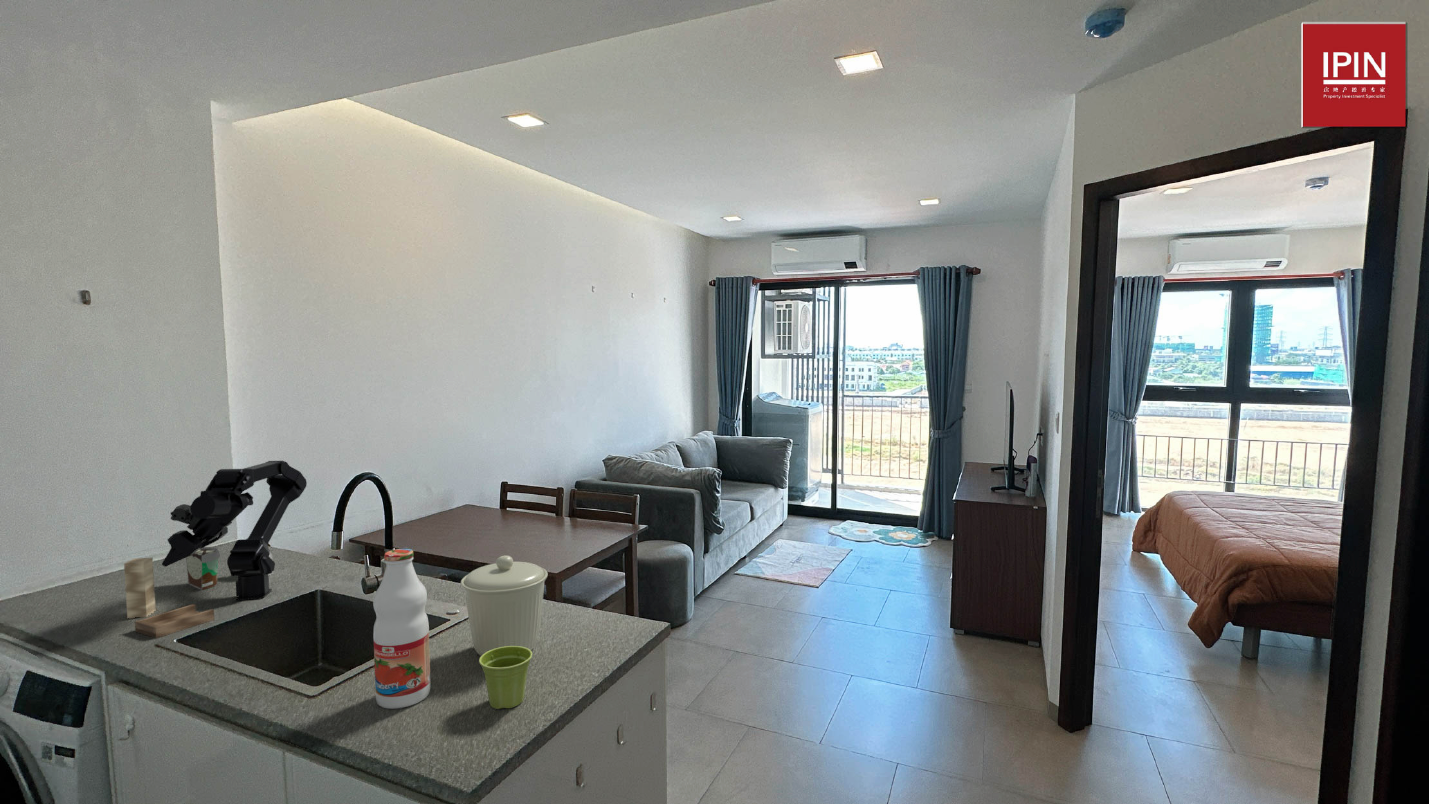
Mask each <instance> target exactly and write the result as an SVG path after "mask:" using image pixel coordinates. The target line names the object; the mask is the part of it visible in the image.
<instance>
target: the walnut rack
mask: <svg viewBox="0 0 1429 804" xmlns="http://www.w3.org/2000/svg"><path fill="white" fill-rule="evenodd" d="M212 621H215V609H212V608H210V609H207V610H204V611H197V610H196V604H189V605H186V606H183V607H179V608H176V609H172V610H169V611H165V612H162V613H159V614H155V615H152V616H147V617H144V618H141V619H138V620H135V622H134V630H135V631H136V633H138V634H142V635H144V636H148V637H152V638H154V639H159V638H162V637H165V636H167V635H171V634H174V633H177V631H178V632H180V631H183V629H184V630H186V629H190V628H193V627H196V626H199V625H202V624H206V623H208V622H212Z"/></svg>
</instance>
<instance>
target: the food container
mask: <svg viewBox="0 0 1429 804" xmlns="http://www.w3.org/2000/svg"><path fill="white" fill-rule="evenodd" d="M221 556H222V555H221V552H220V550H219V548H218V547H214V546H205V547H203V548H201V549H199V550H198V551H196V552H195V553H194V554H192V555H191V556H188V557H186V558H185V560H186V561H185V564H186V575H187V582H188V585H189V584H190V585H189V586H192V587H194V588H196V589H198V590H201V591H204V590H208V589H210V588H213V587H215V586H216V585H217V584H218V568H219V566H218V563H219V558H221Z"/></svg>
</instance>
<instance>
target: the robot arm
mask: <svg viewBox="0 0 1429 804" xmlns="http://www.w3.org/2000/svg"><path fill="white" fill-rule="evenodd" d="M263 480H266V484H267V485H268V486H269V488H268V490H269V493H270V498H269V500H268V502H267V503H266V505H265V507H264V509H263V510H262V512H261V514H260V516H259V518H258V519H257V521H256V523H255V525H254V527H253V528H252V530H251V532H250V534H249V536H248V537H247V538H246V539H238V540H236V541H235V542H234V545H233V547H232V548H231V549H230V551H229V555H228V557H227V559H226V560H227V561H226V563H227V567H228V570H229V573H230V577H237V580H236V581H235V594H236V598H235V601H245V600H259V599H263V598H265V597H267V595H269V594H270V593H271V592H272V590H273V589H272V588H270V581H269V580H270V576H269V575H268V574H271V573H272V571H273V572H274V571H275V566H276V563H275V561H274V560H273V558H272V559H271V558H270V557H269V554H270V553H269V551H270V549H269V543H270V541H271V540H272V537H273V535H274V533H275V531H276V529H277V527H278V525H279V523H280V522H281V520H282V518H283V516H284V514H285V513H286V510H287V509H288V507H289V505H290V504H291V503H292V502H294V501H296V500H297V499H299V498H300V497H301V495H302V494H303V492H304V491H305V489H306V487H307V484H308V483H307V479H306V478H305V476H304V475H303V474H302V473H301V471H299V470H298V469H296V468H294V467H292V466H291V465H290V464H289V463H288V462H287V461H285V460H268V461H265V462H263V463H259V464H255V465H251V466H248V467H244V468H220V469H218V470H217V471H216V474H215V475H214V476H213V477H212V479H211V481H210V482H209V484H208V485H207V487H206V489H205V490H201V491H200V493H199V494H200V495H199V496H198V497H196V498H194V500H193V501H192V502H191V504H187V503H186V504H184V503H182V504H180V505H178V506H175V508H174V509H173V511H171V512H170V516H171V517H170V520H171V521H174V522H180V523H184V524H186V525H187V526H186V528H187V529H188V530H190V531H192V533H193V534H192V533H191V532H190V531H188V530H187V529H185V530H184V529H183V530H179V531H177V532H174V533H173V534H172V535H171V536H169V538H167V543H168V544H169V545H170V550H169V551H168V553H167V554H166V556H165V558H164V560H163V561H162V562H161V565H162V567H165V568H166V567H168V566H170V565H172V564H175V563H177V562H179V561H182V560H185V559H186V557H188V556H191V555H192V554H194V553H195V552H196V551H198V550H199V549H201V548H203V547H208V546H209V545H211V544H213V543H215V542H217V541H219V540H220V539H223V538H224V537H225V536H226V535H227V534H228V532H229V529H228V526H230V525H231V524H232V523H233V521H234V520H235V519H236V518H237V517H238V516H239V515H240V514H241V513H242V512H243V511H244V510H245V509H247V508H248V506H253V505H254V500H253V499H254V496H253V495H251V494H250V492H248V491H247V490H249V489H251V488H252V487H253V486H254V485H255V483H256V482H259V481H263ZM245 491H246V492H245Z"/></svg>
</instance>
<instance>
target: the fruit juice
mask: <svg viewBox="0 0 1429 804" xmlns="http://www.w3.org/2000/svg"><path fill="white" fill-rule="evenodd" d="M414 555H415V554H414V551H413V549H412V548H411V549H410V548H395V549H392V550H388V551H386V552H385V553H384V556H383V560H384V563H385V564H386V567H385V569H384V570H385V571H384V573H383V577H382V580H381V583H380V584H379V586H378V588H377V589H376V592H375V593H374V595H373V599H372V600H373V601H372V602H373V603H372V604H373V610H374V613H375V615H376V619H375V622H374V625H373V637H372V638H373V653H374V655H373V657H374V659H373V661H374V683H375V684H374V686H375V690H374V691H375V701H376V703H377V705H378V706H380V707H381V708H383V709H384V708H385V709H388V710H389V709H391V710H392V709H393V710H394V709H402V708H406V707H407V708H408V707H410V706H413V705H417V704H418V703H420V702H422V701H423V700H425V699H426V698H427V697H428V696H429V694H430V692H431V661H430V660H431V658H430V657H431V656H430V654H431V653H430V627H429V618H428V615H427V613H426V610H425V609H426V603H427V600H428V595H427V588H426V587H425V585H424V584H423V583H422V582H421V580H420V579H419V577H418V576H417V573H416V570H415V567H414V565H413V560H414Z"/></svg>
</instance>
